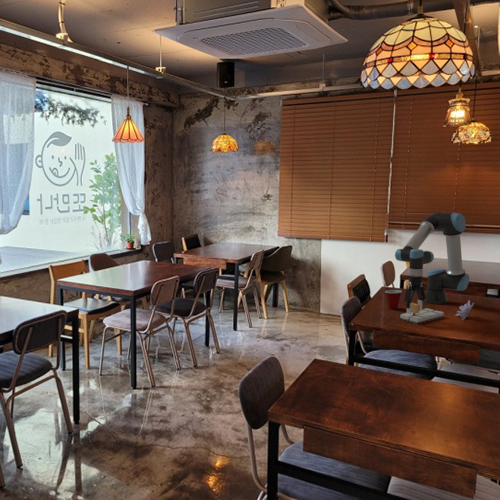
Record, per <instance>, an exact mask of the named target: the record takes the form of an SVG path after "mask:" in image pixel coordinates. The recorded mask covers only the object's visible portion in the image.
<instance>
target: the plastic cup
mask: <svg viewBox="0 0 500 500" xmlns="http://www.w3.org/2000/svg"><path fill="white" fill-rule="evenodd" d="M384 293H385V295H386V301H387V308H388V309H389V308H391V309H390V310H393V309H395V310H398V308H399V303H400V301H401V300H400V299H401V294H402V290H399V289H387V290H385V291H384Z"/></svg>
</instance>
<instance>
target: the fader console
mask: <svg viewBox="0 0 500 500" xmlns="http://www.w3.org/2000/svg"><path fill="white" fill-rule="evenodd" d="M444 314H445V312H444V311H439V310H434V309H433V308H432V309H431V308H428V307H427V308H422V311H419V313H416V316H413V313H412V312H411V314H408V313H406V312H404V313H401V314H400V317H399V320H400V319H402V320H401V321H404V320H406V321H405V322H407V321H409V322H408V323H411V322H413V323H412V324H415V323H417V324H416V325H419V324H418V323H420V324H423V323H422V322H424V323H427V322H426V321H428V322H430V321H431V320H432V321H434V319H435V320H438V319H443V318H444V317H445V315H444Z"/></svg>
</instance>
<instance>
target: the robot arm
mask: <svg viewBox="0 0 500 500" xmlns="http://www.w3.org/2000/svg"><path fill="white" fill-rule="evenodd" d="M466 226H467V223H466V218H465V216H464V215H463V214H462V213H458V212H434V213H432V214H430V215H428V216H427V217H426V218H424V220H422V221H421V223H420V225H419V228H418V229H417V230H416V232H415V233H413V235H412V237H410V239H409V240H408V241H407V243H406V244H405V246H403V248H397V249H396V251H395V253H394V258H395V259H396V260H397V261H398V262H404V263H405V262H406V263H409V269H408V270H409V272H408V274H409V275H408V281H409V282H410V283H409V285H408V284H407V285H406V290H405V294H404V300H403V302H404V303H406V305H405V306H406V307H405V308H406V312H405V313H408V314H411V304H412V303H413V302H412V300H413V297H414V294H415V293H416V295H417V297H418V298H417V304H419V305H420V311H422V309H423V302H425V303H428V304H436V305H443V304H448V297H447V293H446V290H447V289H448V290H453V291H461V292H462V291H465V290H466V289H467V287H468V285H469V282H470V275H469V274H468V273H466V270H465V268H463V259H462V246H461V245H462V243H461V235H462V234H463V232H464V231H465V229H466ZM435 231H442V234H443V236H445V242H446V254H447V269H446V268H434V269H433V268H432V269H429V270H428V272H427V284H426V285H427V286H426V287H427V288H426V293H425V283H423V272H424V265H427V264H430V263H432V262H433V261H434V258H435V255H434V254H433V252H432V251H430V250H424V249H420V247H421V246H422V245H423V243H425V241H426V240H427V238H428V237H429V235H431V234H433V233H434V232H435Z"/></svg>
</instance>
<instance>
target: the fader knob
mask: <svg viewBox="0 0 500 500" xmlns="http://www.w3.org/2000/svg"><path fill="white" fill-rule="evenodd" d="M411 303H412V304H411V312H412V313H413V316H416V313H419V311H420V305H419V304H418V303H415V302H411Z"/></svg>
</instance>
